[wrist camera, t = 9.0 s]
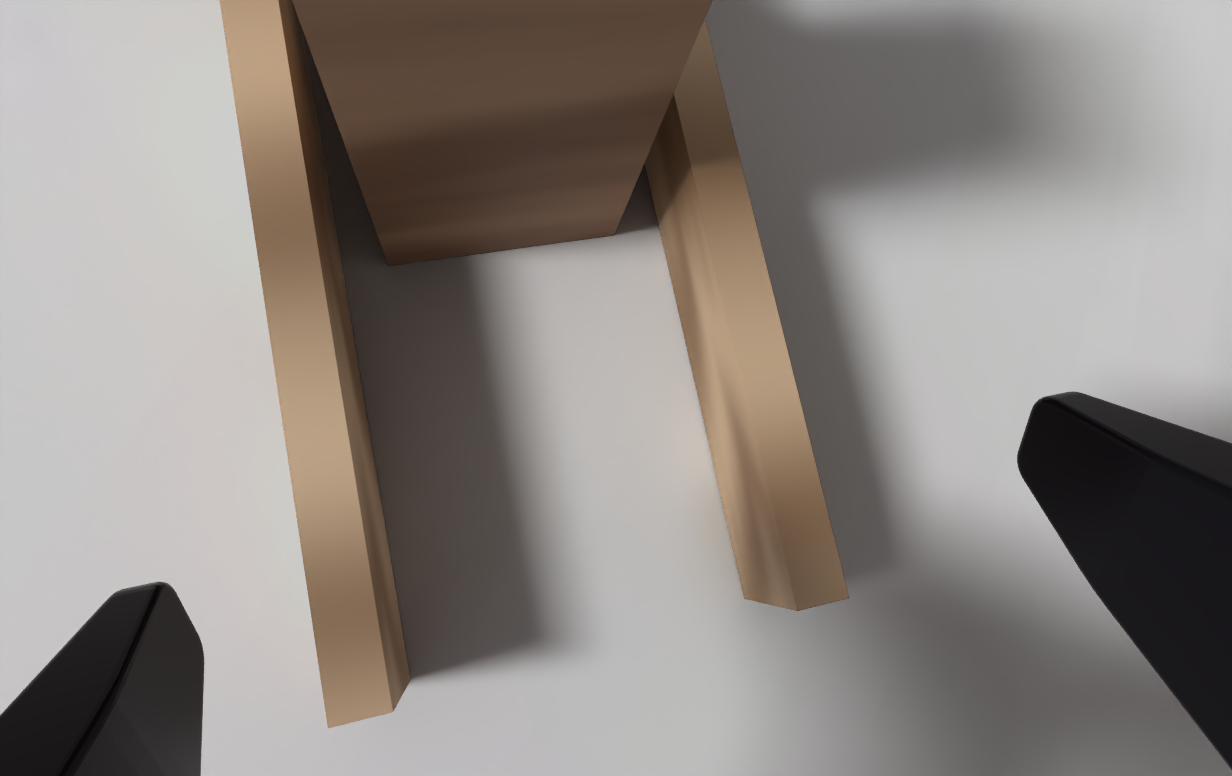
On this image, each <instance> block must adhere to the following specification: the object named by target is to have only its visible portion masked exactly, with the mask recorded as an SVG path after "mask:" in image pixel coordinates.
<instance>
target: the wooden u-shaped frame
mask: <svg viewBox="0 0 1232 776" xmlns="http://www.w3.org/2000/svg"><path fill="white" fill-rule="evenodd" d="M220 5H221V12H222V19H223V25H224V32H225V39H226V46H227V52H228V59H229V66H230V72H231V79H232V86H233V93H234V99H235V106H236V113H237V119H238V126H239V133H240V140H241V146H242V153H243V160H244V166H245V173H246V180H247V187H248V193H249V200H250V207H251V214H252V220H253V227H254V234H255V240H256V247H257V254H258V261H259V267H260V274H261V281H262V287H263V294H264V301H265V308H266V314H267V321H268V328H269V334H270V341H271V348H272V355H273V361H274V368H275V375H276V382H277V388H278V395H279V402H280V408H281V415H282V422H283V429H284V435H285V442H286V449H287V455H288V462H289V469H290V476H291V482H292V489H293V496H294V502H295V509H296V516H297V523H298V529H299V536H300V543H301V549H302V556H303V563H304V570H305V576H306V583H307V590H308V597H309V603H310V610H311V617H312V623H313V630H314V637H315V644H316V650H317V657H318V664H319V670H320V677H321V684H322V691H323V697H324V704H325V711H326V717H327V724H328V728H331V727H335V726H339V725H343V724H347V723H351V722H355V721H359V720H363V719H367V718H371V717H375V716H379V715H383V714H387V713H391V712H393V711H394V709H395V707H396V705H397V704H398V702H399V700H400V698H401V696H402V694H403V693H404V691H405V689H406V687H407V685H408V683H409V682H410V674H409V667H408V661H407V655H406V649H405V643H404V637H403V631H402V625H401V619H400V613H399V607H398V601H397V595H396V589H395V583H394V577H393V571H392V565H391V558H390V552H389V546H388V540H387V534H386V528H385V522H384V516H383V510H382V504H381V498H380V492H379V486H378V480H377V474H376V468H375V462H374V456H373V450H372V443H371V437H370V431H369V425H368V419H367V413H366V407H365V401H364V395H363V389H362V383H361V377H360V371H359V365H358V359H357V353H356V347H355V341H354V335H353V328H352V322H351V316H350V310H349V304H348V298H347V292H346V286H345V280H344V274H343V268H342V262H341V256H340V250H339V244H338V238H337V232H336V226H335V219H334V213H333V207H332V201H331V195H330V189H329V183H328V177H327V171H326V165H325V159H324V153H323V147H322V141H321V135H320V129H319V123H318V117H317V111H316V104H315V98H314V92H313V86H312V80H311V74H310V68H309V62H308V56H307V50H306V44H305V38H304V32H303V29H302V26H301V24H300V21H299V18H298V15H297V13H296V10H295V7H294V5H293V2H292V0H220ZM645 168H646V172H647V176H648V181H649V185H650V190H651V194H652V198H653V203H654V207H655V211H656V216H657V220H658V224H659V229H660V233H661V237H662V242H663V246H664V251H665V255H666V259H667V264H668V268H669V272H670V277H671V281H672V285H673V290H674V294H675V298H676V303H677V307H678V312H679V316H680V320H681V325H682V329H683V333H684V338H685V342H686V346H687V351H688V355H689V359H690V364H691V368H692V373H693V377H694V381H695V386H696V390H697V394H698V399H699V403H700V407H701V412H702V416H703V420H704V425H705V429H706V434H707V438H708V442H709V447H710V451H711V455H712V460H713V464H714V468H715V473H716V477H717V481H718V486H719V490H720V495H721V499H722V503H723V508H724V512H725V516H726V521H727V525H728V529H729V534H730V538H731V542H732V547H733V551H734V556H735V560H736V564H737V569H738V573H739V577H740V582H741V586H742V590H743V595H744V599H748V600H753V601H757V602H761V603H765V604H770V605H774V606H778V607H782V608H787V609H791V610H795V611H800V610H804V609H808V608H812V607H816V606H820V605H824V604H828V603H832V602H836V601H840V600H844V599H848V598H849V595H848V591H847V587H846V583H845V579H844V575H843V571H842V567H841V563H840V559H839V555H838V551H837V547H836V543H835V539H834V535H833V531H832V527H831V523H830V519H829V515H828V511H827V507H826V503H825V499H824V495H823V491H822V487H821V483H820V479H819V475H818V471H817V467H816V463H815V459H814V455H813V451H812V447H811V443H810V439H809V435H808V431H807V427H806V423H805V419H804V415H803V411H802V407H801V403H800V399H799V395H798V391H797V387H796V383H795V378H794V374H793V370H792V366H791V362H790V358H789V354H788V350H787V346H786V342H785V338H784V334H783V330H782V326H781V322H780V318H779V314H778V310H777V306H776V302H775V298H774V294H773V290H772V286H771V282H770V278H769V274H768V270H767V266H766V262H765V258H764V254H763V250H762V246H761V242H760V238H759V234H758V230H757V226H756V222H755V218H754V214H753V210H752V206H751V202H750V198H749V194H748V190H747V186H746V182H745V178H744V174H743V170H742V166H741V162H740V158H739V154H738V150H737V146H736V141H735V137H734V133H733V129H732V125H731V121H730V117H729V113H728V109H727V105H726V101H725V97H724V93H723V89H722V85H721V81H720V77H719V73H718V69H717V65H716V61H715V57H714V53H713V49H712V45H711V41H710V37H709V33H708V29H707V25H706V21H705V19H704V22H703V24H702V26H701V29H700V31H699V34H698V36H697V38H696V41H695V43H694V46H693V48H692V50H691V53H690V55H689V58H688V60H687V62H686V65H685V67H684V70H683V72H682V74H681V77H680V79H679V82H678V84H677V86H676V89H675V91H674V94H673V96H672V98H671V101H670V103H669V105H668V108H667V110H666V113H665V115H664V117H663V120H662V122H661V125H660V127H659V129H658V132H657V134H656V137H655V139H654V141H653V144H652V146H651V149H650V151H649V153H648V156H647V158H646V161H645Z"/></svg>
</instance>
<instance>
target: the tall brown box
mask: <svg viewBox="0 0 1232 776" xmlns="http://www.w3.org/2000/svg"><path fill="white" fill-rule="evenodd" d="M292 2H293V5H294V7H295V10H296V13H297V15H298V18H299V21H300V24H301V26H302V29H303V32H304V35H305V37H306V40H307V43H308V46H309V48H310V51H311V54H312V57H313V59H314V62H315V65H316V68H317V70H318V73H319V76H320V79H321V81H322V84H323V87H324V90H325V92H326V95H327V98H328V101H329V103H330V106H331V109H332V112H333V114H334V117H335V120H336V123H337V125H338V128H339V131H340V134H341V136H342V139H343V142H344V145H345V147H346V150H347V153H348V156H349V158H350V161H351V164H352V167H353V169H354V172H355V175H356V178H357V180H358V183H359V186H360V189H361V191H362V194H363V197H364V200H365V202H366V205H367V208H368V211H369V213H370V216H371V219H372V221H373V224H374V227H375V230H376V232H377V235H378V238H379V241H380V243H381V246H382V249H383V252H384V254H385V257H386V260H387V263H388V265H389V266H393V265H400V264H407V263H414V262H422V261H429V260H436V259H444V258H451V257H458V256H466V255H473V254H480V253H488V252H495V251H502V250H509V249H517V248H524V247H531V246H539V245H546V244H553V243H561V242H568V241H575V240H583V239H590V238H597V237H604V236H612V235H615V232H616V230H617V228H618V225H619V223H620V220H621V218H622V216H623V213H624V211H625V208H626V206H627V204H628V201H629V199H630V196H631V194H632V192H633V189H634V187H635V184H636V182H637V180H638V177H639V175H640V173H641V170H642V168H643V165H644V163H645V161H646V158H647V156H648V153H649V151H650V149H651V146H652V144H653V141H654V139H655V137H656V134H657V132H658V129H659V127H660V125H661V122H662V120H663V117H664V115H665V113H666V110H667V108H668V105H669V103H670V101H671V98H672V96H673V94H674V91H675V89H676V86H677V84H678V82H679V79H680V77H681V74H682V72H683V70H684V67H685V65H686V62H687V60H688V58H689V55H690V53H691V50H692V48H693V46H694V43H695V41H696V38H697V36H698V34H699V31H700V29H701V26H702V24H703V22H704V19H705V17H706V14H707V12H708V10H709V7H710V5H711V3H712V0H292Z"/></svg>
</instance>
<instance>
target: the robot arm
mask: <svg viewBox="0 0 1232 776" xmlns="http://www.w3.org/2000/svg"><path fill="white" fill-rule="evenodd" d="M1017 463H1018V468H1019V471H1020V474H1021V476H1022V478H1023V479H1024V481H1025V482H1026V484H1027V486H1028V487H1029V489H1030V490H1031V492H1032V494H1033V495H1034V497H1035V498H1036V500H1037V502H1038V503H1039V505H1040V506H1041V508H1042V510H1043V511H1044V513H1045V514H1046V516H1047V518H1048V519H1049V521H1050V522H1051V524H1052V525H1053V527H1054V529H1055V530H1056V532H1057V533H1058V535H1059V537H1060V538H1061V540H1062V541H1063V543H1064V545H1065V546H1066V548H1067V549H1068V551H1069V553H1070V554H1071V556H1072V557H1073V559H1074V560H1075V562H1076V564H1077V565H1078V567H1079V568H1080V570H1081V572H1082V573H1083V575H1084V576H1085V578H1086V579H1087V581H1088V582H1089V584H1090V585H1091V587H1092V588H1093V590H1094V591H1095V592H1096V594H1097V595H1098V596H1099V598H1100V599H1101V600H1102V602H1103V603H1104V605H1105V606H1106V607H1107V609H1108V610H1109V611H1110V612H1111V614H1112V615H1113V616H1114V618H1115V619H1116V620H1117V622H1118V623H1119V624H1120V625H1121V627H1122V628H1123V629H1124V631H1125V632H1126V633H1127V635H1128V636H1129V637H1130V638H1131V640H1132V641H1133V642H1134V644H1135V645H1136V646H1137V648H1138V649H1139V650H1140V651H1141V653H1142V654H1143V655H1144V657H1145V658H1146V659H1147V660H1148V662H1149V663H1150V664H1151V666H1152V667H1153V668H1154V670H1155V671H1156V672H1157V673H1158V675H1159V676H1160V677H1161V679H1162V680H1163V681H1164V683H1165V684H1166V685H1167V686H1168V688H1169V689H1170V690H1171V692H1172V693H1173V694H1174V696H1175V697H1176V698H1177V699H1178V701H1179V702H1180V703H1181V705H1182V706H1183V707H1184V709H1185V710H1186V711H1187V712H1188V714H1189V715H1190V716H1191V718H1192V719H1193V720H1194V722H1195V723H1196V724H1197V725H1198V727H1199V728H1200V729H1201V731H1202V732H1203V733H1204V735H1205V736H1206V737H1207V738H1208V740H1209V741H1210V742H1211V744H1212V745H1213V746H1214V747H1215V749H1216V750H1217V751H1218V753H1219V754H1220V755H1221V757H1222V758H1223V759H1224V760H1225V762H1226V763H1227V764H1228V766H1229V767H1230V768H1231V770H1232V443H1229V442H1226V441H1223V440H1220V439H1217V438H1214V437H1211V436H1208V435H1205V434H1202V433H1199V432H1196V431H1193V430H1190V429H1187V428H1184V427H1181V426H1178V425H1175V424H1172V423H1169V422H1166V421H1163V420H1160V419H1157V418H1154V417H1151V416H1148V415H1145V414H1142V413H1139V412H1137V411H1134V410H1131V409H1128V408H1125V407H1122V406H1119V405H1116V404H1113V403H1110V402H1107V401H1104V400H1101V399H1098V398H1095V397H1092V396H1089V395H1086V394H1083V393H1079V392H1066V393H1061V394H1056V395H1051V396H1046V397H1043V398H1041V399H1039V400H1038V401H1037V402H1036V403H1035V404H1034V406H1033V408H1032V410H1031V413H1030V416H1029V419H1028V423H1027V426H1026V429H1025V432H1024V435H1023V438H1022V441H1021V444H1020V447H1019V450H1018V455H1017ZM203 686H204V653H203V647H202V643H201V640H200V638H199V635H198V633H197V632H196V630H195V628H194V626H193V624H192V622H191V620H190V618H189V616H188V615H187V613H186V611H185V609H184V607H183V605H182V603H181V601H180V599H179V597H178V596H177V594H176V592H175V590H174V589H173V588H172V587H171V586H170V585H169V584H168V583H165V582H155V583H150V584H145V585H140V586H135V587H131V588H126V589H122V590H120V591H117V592H116V593H114V594H113V595H112V596H110V597H109V598H108V599H107V600H106V601H105V603H104V604H103V605H102V606H101V607H100V608H99V609H98V610H97V611H96V612H95V613H94V614H93V616H92V617H91V618H90V619H89V620H88V621H87V622H86V623H85V624H84V625H83V626H82V627H81V628H80V630H79V631H78V632H77V633H76V634H75V635H74V636H73V637H72V638H71V639H70V640H69V641H68V643H67V644H66V645H65V646H64V647H63V648H62V649H61V650H60V651H59V652H58V653H57V654H56V656H55V657H54V658H53V659H52V660H51V661H50V662H49V663H48V664H47V665H46V666H45V667H44V668H43V670H42V671H41V672H40V673H39V674H38V675H37V676H36V677H35V678H34V679H33V680H32V681H31V683H30V684H29V685H28V686H27V687H26V688H25V689H24V690H23V691H22V692H21V693H20V694H19V696H18V697H17V698H16V699H15V700H14V701H13V702H12V703H11V704H10V705H9V706H8V707H7V709H6V710H5V711H4V712H3V713H2V714H1V715H0V776H201V746H202V716H203Z"/></svg>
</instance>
